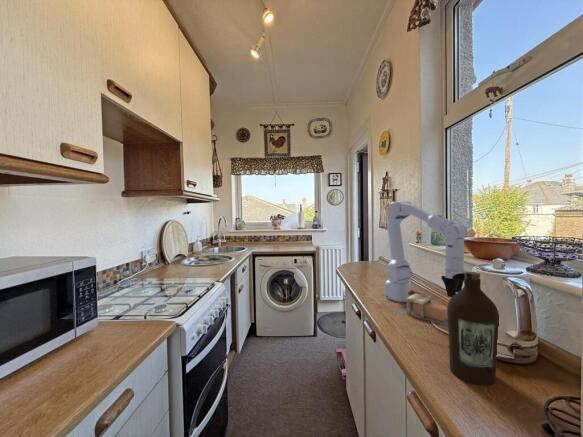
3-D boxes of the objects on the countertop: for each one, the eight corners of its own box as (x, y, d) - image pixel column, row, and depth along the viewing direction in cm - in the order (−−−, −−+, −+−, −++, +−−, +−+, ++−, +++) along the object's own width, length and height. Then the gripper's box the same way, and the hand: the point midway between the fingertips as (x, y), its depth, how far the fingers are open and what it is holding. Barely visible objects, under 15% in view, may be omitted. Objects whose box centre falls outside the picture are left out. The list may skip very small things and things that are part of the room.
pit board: (392, 314, 107) (392, 311, 107) (403, 307, 114) (403, 304, 114) (453, 330, 92) (453, 326, 92) (461, 321, 99) (461, 318, 99)
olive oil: (444, 358, 75) (444, 267, 74) (490, 366, 71) (491, 269, 70) (450, 381, 65) (451, 276, 64) (505, 391, 61) (506, 279, 60)
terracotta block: (412, 313, 105) (412, 302, 104) (416, 310, 107) (417, 300, 107) (444, 321, 97) (444, 310, 97) (448, 318, 99) (448, 307, 99)
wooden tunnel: (406, 313, 104) (406, 298, 104) (415, 308, 110) (415, 293, 110) (423, 318, 100) (423, 301, 100) (431, 311, 106) (431, 296, 105)
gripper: (461, 261, 91) (461, 301, 92) (472, 255, 102) (471, 292, 102) (438, 258, 96) (438, 297, 97) (450, 253, 107) (450, 288, 107)
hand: (454, 294), depth 100 cm, fingers open, 7 cm apart
